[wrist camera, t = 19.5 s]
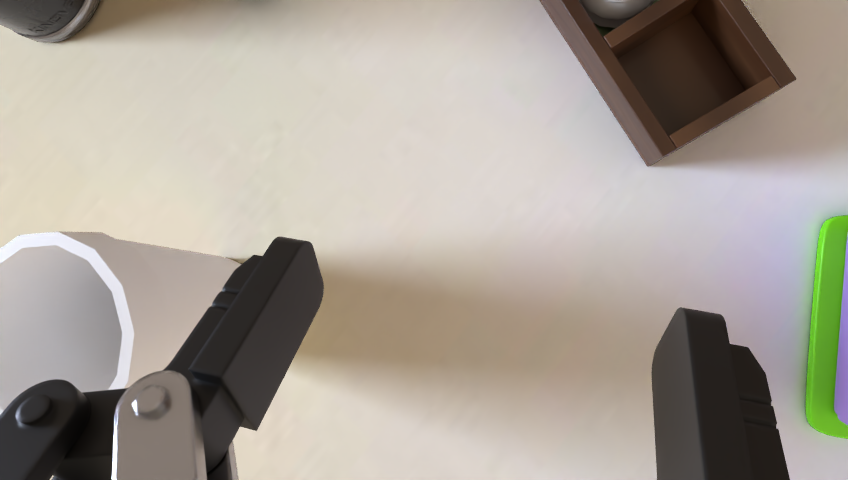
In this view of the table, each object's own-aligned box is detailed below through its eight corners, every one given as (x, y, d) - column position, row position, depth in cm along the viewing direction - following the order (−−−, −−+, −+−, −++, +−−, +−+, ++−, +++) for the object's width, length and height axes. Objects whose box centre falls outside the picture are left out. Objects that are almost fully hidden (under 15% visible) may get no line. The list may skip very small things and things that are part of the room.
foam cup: (244, 211, 35) (78, 193, 22) (305, 329, 34) (168, 381, 21) (142, 277, 36) (-67, 296, 24) (198, 391, 35) (10, 475, 23)
